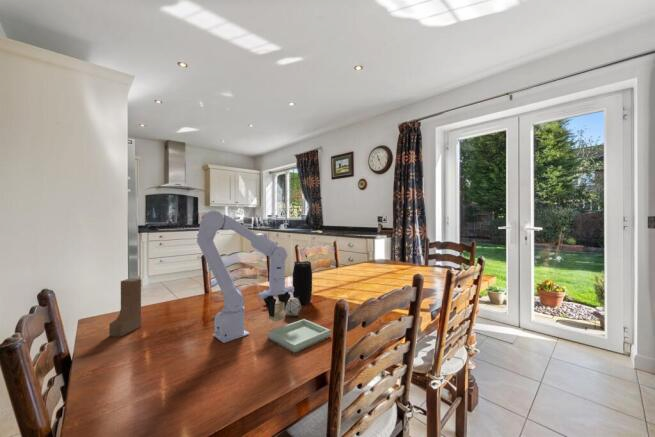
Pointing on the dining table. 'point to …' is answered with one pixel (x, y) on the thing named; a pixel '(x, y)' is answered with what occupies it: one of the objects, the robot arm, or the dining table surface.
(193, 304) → the dining table surface
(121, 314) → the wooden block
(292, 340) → the sorting tray
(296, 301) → the game die
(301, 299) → the portable speaker
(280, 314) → the maple block
